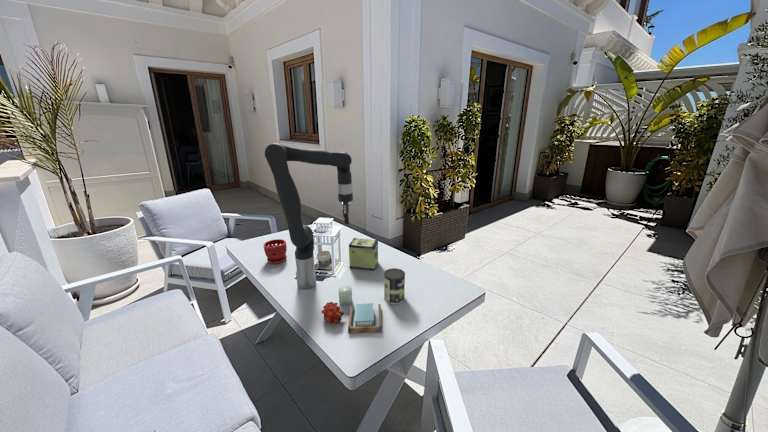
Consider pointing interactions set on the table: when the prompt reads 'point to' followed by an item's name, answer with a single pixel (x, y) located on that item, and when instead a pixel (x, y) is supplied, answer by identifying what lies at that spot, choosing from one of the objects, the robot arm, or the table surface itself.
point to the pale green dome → (345, 295)
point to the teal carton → (364, 315)
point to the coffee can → (394, 286)
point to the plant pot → (275, 251)
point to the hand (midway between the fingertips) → (346, 223)
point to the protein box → (363, 254)
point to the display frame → (364, 328)
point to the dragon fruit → (332, 312)
